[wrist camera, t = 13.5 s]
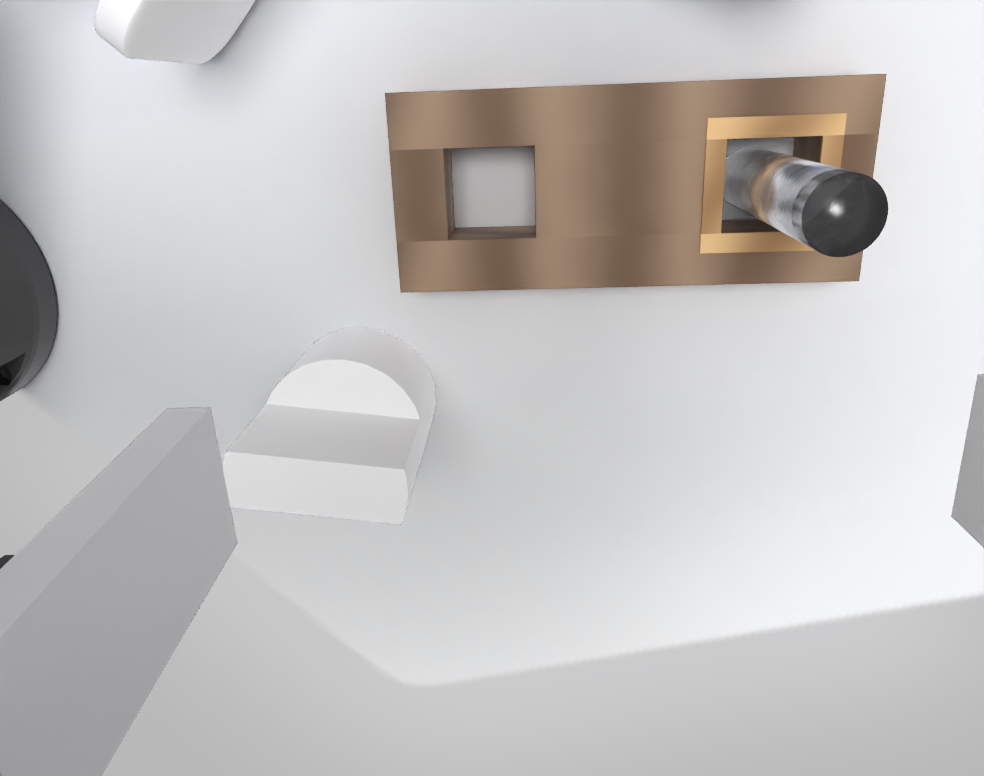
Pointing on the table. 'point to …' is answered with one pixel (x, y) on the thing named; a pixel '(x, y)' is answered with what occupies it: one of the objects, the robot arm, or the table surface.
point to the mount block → (620, 181)
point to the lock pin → (807, 200)
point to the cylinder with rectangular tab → (338, 432)
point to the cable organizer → (169, 27)
